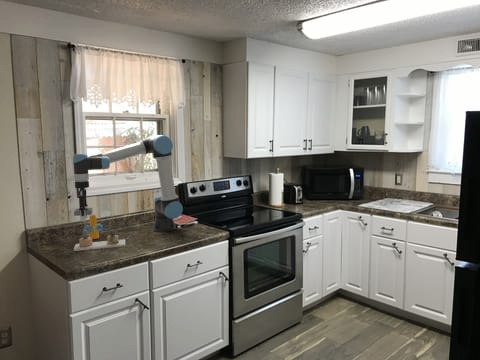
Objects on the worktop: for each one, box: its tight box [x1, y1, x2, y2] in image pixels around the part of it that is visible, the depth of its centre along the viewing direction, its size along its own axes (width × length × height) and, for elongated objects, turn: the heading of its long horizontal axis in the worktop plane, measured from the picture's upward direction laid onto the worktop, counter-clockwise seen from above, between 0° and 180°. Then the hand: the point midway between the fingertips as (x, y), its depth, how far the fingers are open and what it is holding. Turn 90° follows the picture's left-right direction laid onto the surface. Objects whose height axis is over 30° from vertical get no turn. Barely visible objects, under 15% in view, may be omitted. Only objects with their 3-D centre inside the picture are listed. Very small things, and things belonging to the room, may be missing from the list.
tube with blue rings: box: [83, 214, 104, 240], centre depth 241 cm, size 12×10×15 cm
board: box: [73, 238, 126, 252], centre depth 224 cm, size 28×11×1 cm, turn 107°
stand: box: [106, 229, 120, 244], centre depth 226 cm, size 6×6×8 cm
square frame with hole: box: [73, 207, 94, 217], centre depth 220 cm, size 9×9×2 cm
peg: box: [78, 229, 93, 247], centre depth 221 cm, size 7×7×9 cm
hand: (84, 219), depth 220 cm, fingers closed on square frame with hole, 9 cm apart
